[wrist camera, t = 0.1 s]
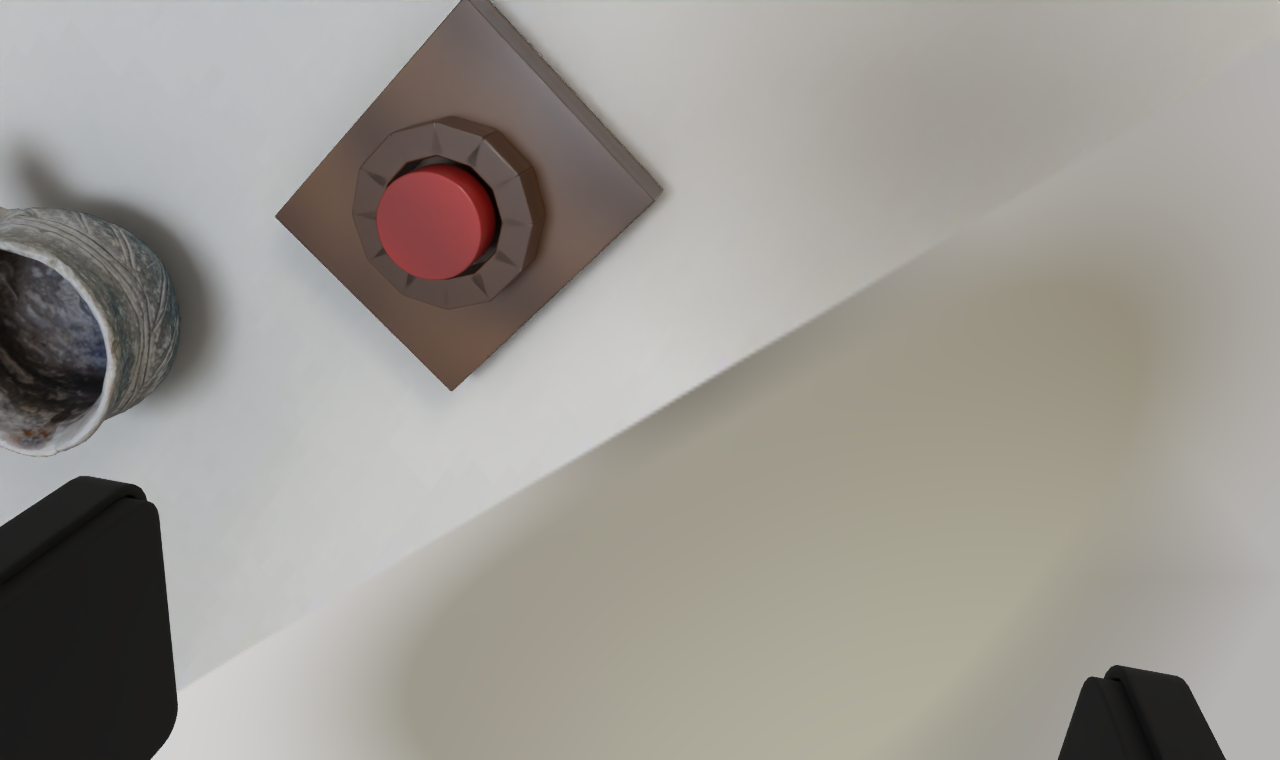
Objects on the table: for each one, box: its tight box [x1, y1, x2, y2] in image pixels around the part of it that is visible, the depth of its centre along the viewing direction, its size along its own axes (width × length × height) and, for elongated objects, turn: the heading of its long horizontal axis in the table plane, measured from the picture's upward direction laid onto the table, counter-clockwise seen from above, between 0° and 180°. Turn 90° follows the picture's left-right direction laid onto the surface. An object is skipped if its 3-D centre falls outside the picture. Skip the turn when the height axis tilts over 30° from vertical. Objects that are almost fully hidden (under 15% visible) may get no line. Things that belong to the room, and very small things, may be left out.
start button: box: [376, 164, 496, 280], centre depth 37 cm, size 4×4×2 cm
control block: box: [275, 0, 663, 391], centre depth 39 cm, size 12×10×4 cm
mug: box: [0, 207, 180, 457], centre depth 41 cm, size 10×12×10 cm
